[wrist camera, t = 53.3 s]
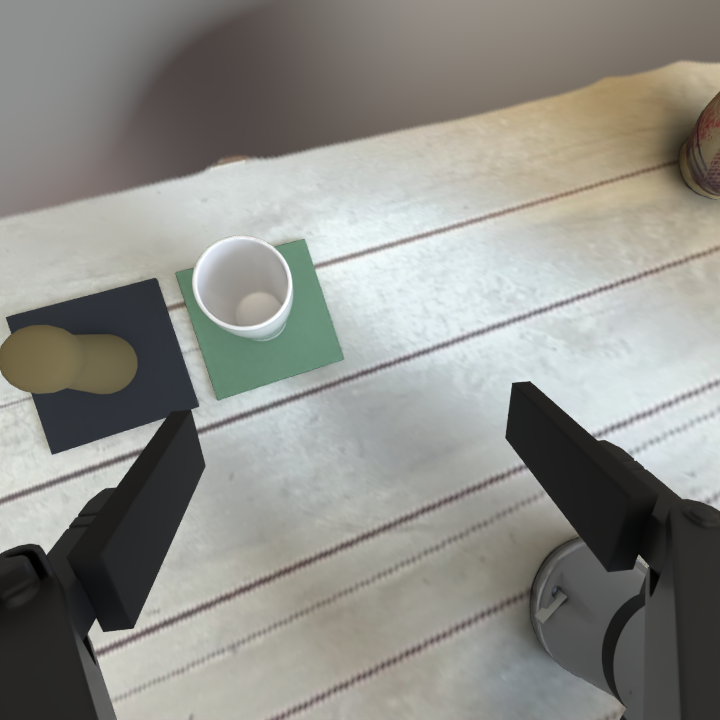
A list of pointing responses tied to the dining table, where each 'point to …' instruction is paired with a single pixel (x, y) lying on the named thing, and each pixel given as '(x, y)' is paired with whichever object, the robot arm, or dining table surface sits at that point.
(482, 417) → the dining table surface
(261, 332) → the drinking glass
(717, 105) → the ceramic jug
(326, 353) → the sage mat
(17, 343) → the olive game pawn
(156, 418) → the slate mat
